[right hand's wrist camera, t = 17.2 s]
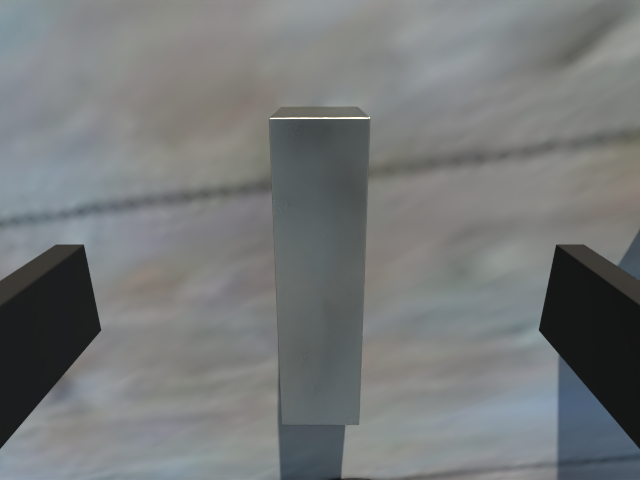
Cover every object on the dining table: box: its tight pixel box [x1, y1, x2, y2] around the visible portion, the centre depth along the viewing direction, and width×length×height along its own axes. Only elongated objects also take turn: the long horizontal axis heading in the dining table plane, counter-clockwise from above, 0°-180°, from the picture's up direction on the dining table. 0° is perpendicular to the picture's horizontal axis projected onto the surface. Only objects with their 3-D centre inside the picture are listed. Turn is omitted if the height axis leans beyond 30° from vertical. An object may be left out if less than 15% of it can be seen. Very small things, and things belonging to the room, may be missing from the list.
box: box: [269, 107, 370, 425], centre depth 33 cm, size 22×6×9 cm, turn 0°
